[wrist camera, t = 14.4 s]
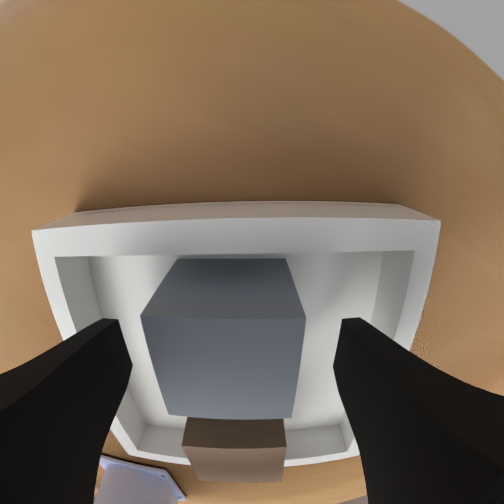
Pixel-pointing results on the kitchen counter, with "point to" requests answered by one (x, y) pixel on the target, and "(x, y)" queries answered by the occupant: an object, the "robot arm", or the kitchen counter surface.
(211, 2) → the kitchen counter surface
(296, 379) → the slate block
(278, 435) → the walnut block
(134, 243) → the tray
